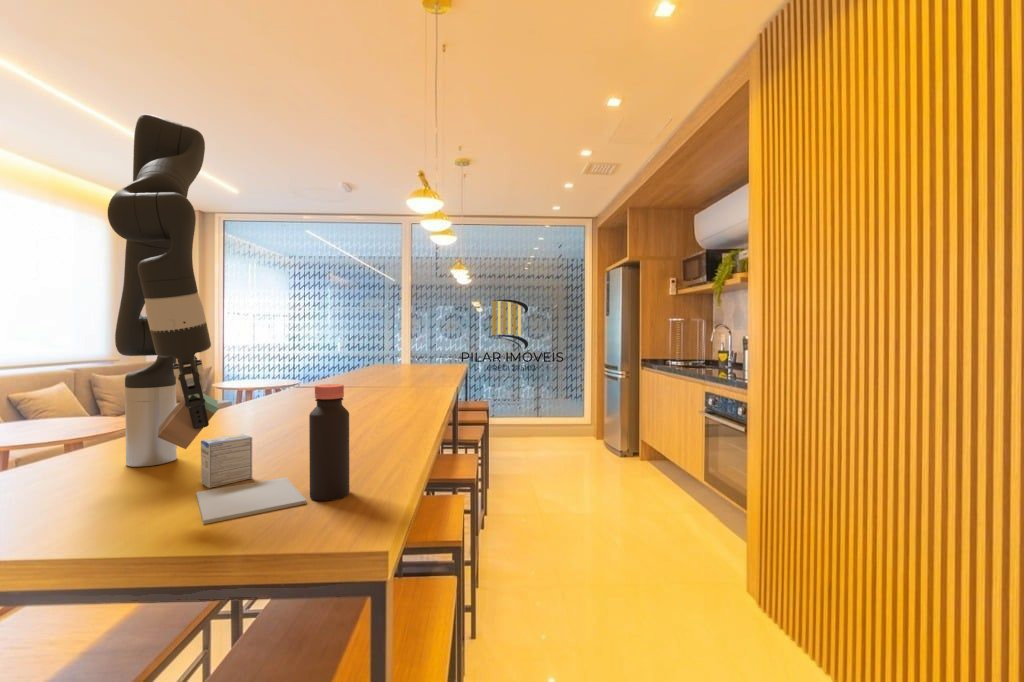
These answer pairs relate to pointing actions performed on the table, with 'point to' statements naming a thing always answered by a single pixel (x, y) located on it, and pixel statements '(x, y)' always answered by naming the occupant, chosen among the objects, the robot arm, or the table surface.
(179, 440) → the walnut block
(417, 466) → the table surface
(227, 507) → the rubber mat
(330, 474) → the bottle
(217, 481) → the medicine box
